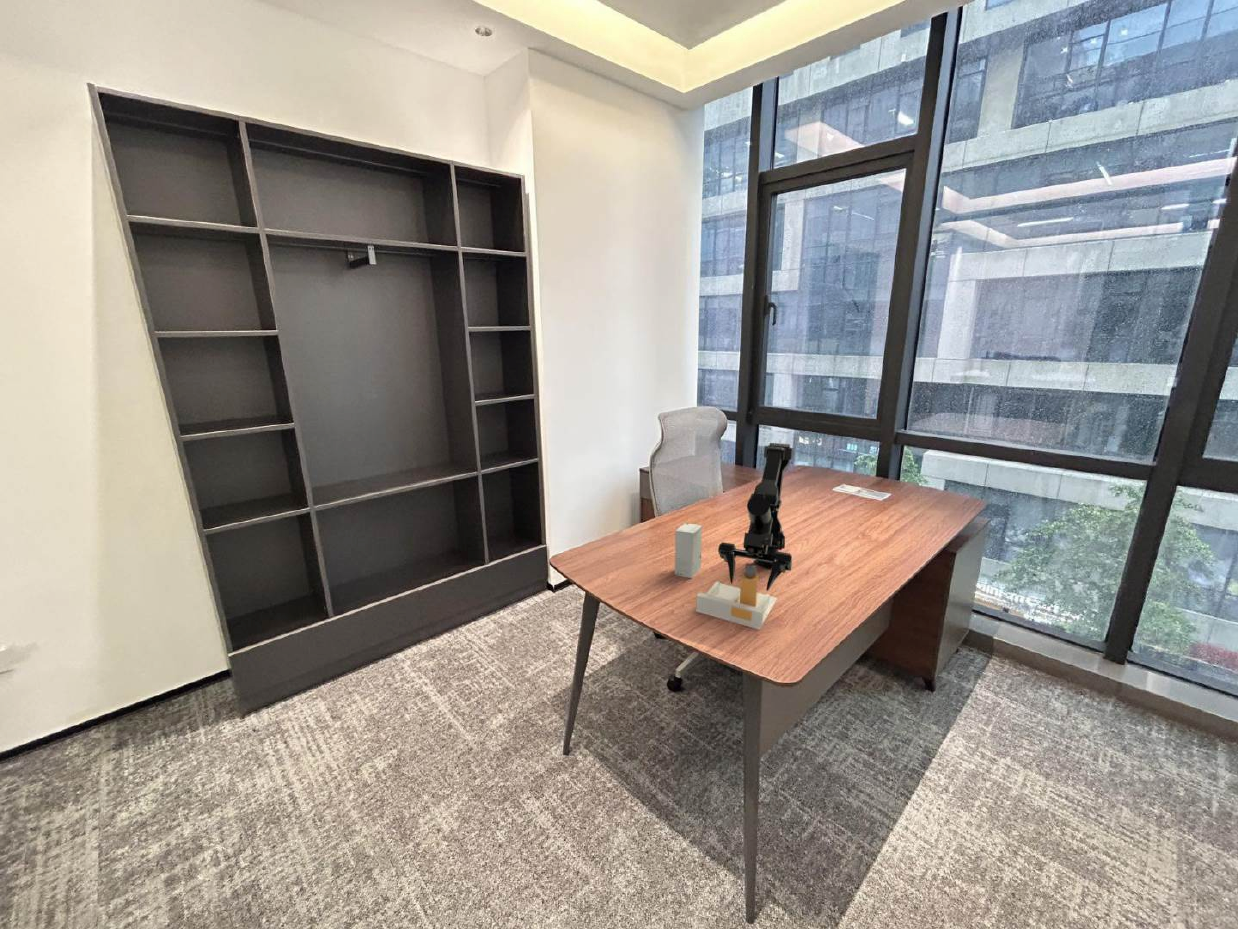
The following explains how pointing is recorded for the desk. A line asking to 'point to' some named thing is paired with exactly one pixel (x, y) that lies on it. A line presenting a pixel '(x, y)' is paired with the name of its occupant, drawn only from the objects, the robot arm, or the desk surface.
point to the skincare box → (688, 550)
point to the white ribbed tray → (734, 605)
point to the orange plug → (749, 586)
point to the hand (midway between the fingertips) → (749, 586)
